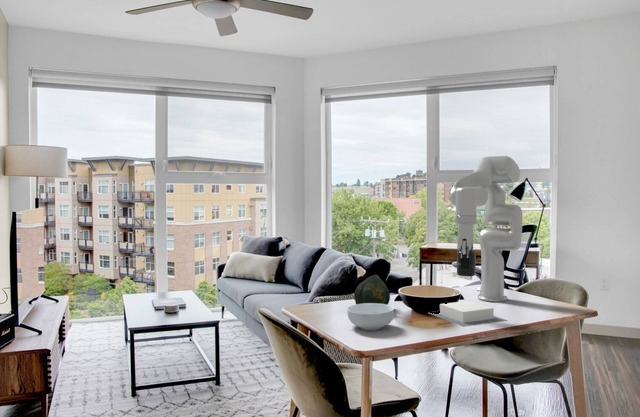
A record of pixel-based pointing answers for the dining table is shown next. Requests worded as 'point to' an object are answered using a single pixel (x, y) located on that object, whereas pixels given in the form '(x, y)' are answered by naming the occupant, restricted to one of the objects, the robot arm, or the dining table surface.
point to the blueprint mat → (496, 319)
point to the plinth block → (466, 311)
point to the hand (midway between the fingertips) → (466, 266)
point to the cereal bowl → (370, 315)
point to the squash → (372, 291)
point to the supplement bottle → (471, 264)
